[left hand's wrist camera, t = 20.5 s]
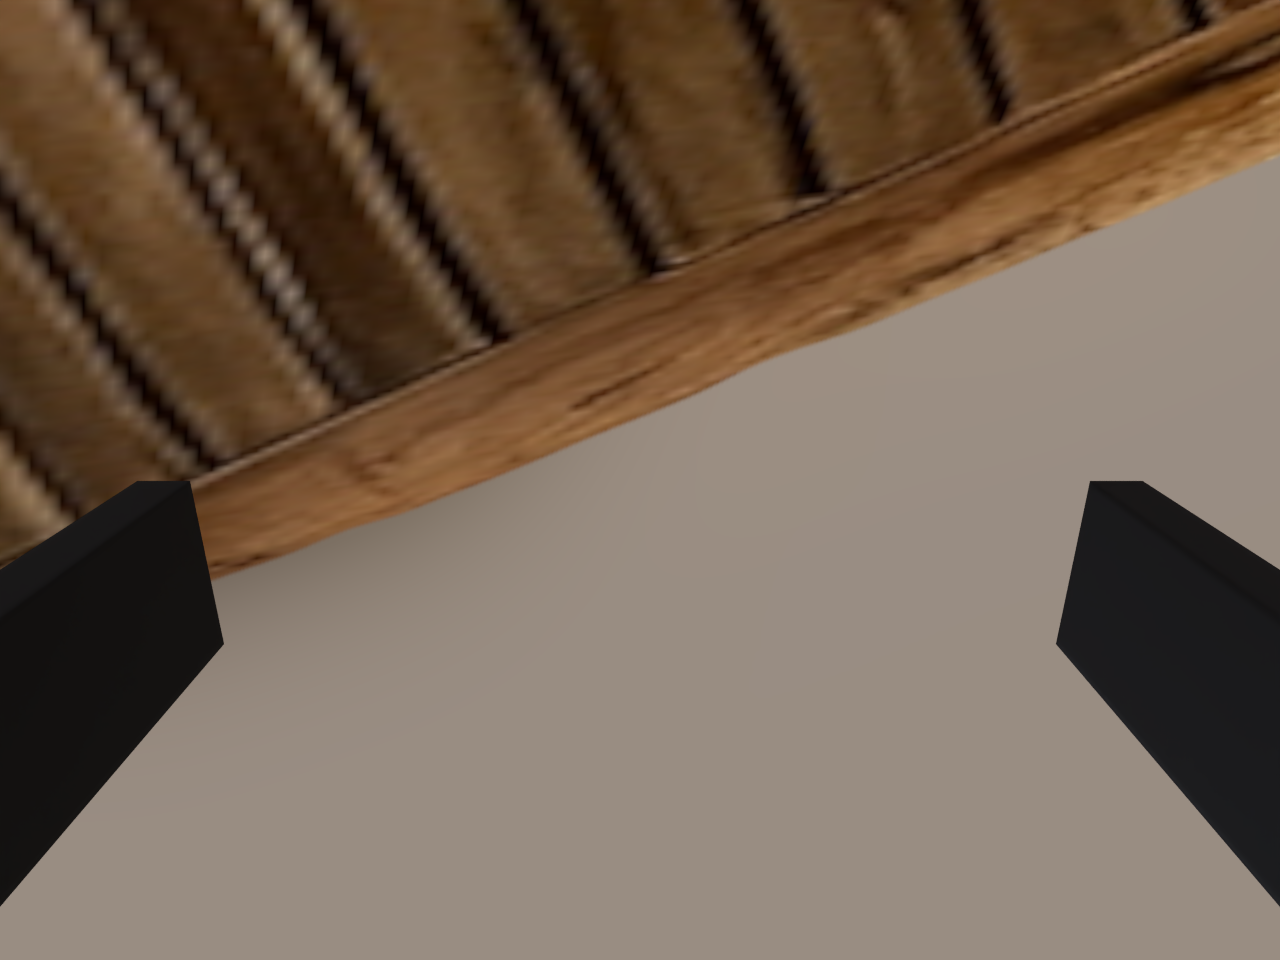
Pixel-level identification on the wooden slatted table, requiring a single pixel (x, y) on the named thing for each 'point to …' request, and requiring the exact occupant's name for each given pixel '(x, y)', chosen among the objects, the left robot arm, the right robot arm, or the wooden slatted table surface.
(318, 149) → the wooden slatted table surface
